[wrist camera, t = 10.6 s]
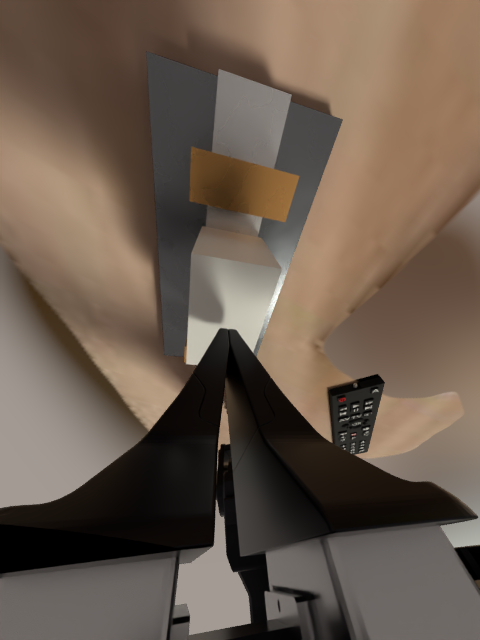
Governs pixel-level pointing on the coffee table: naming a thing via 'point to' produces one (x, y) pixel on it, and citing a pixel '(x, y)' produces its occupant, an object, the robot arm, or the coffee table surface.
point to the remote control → (355, 413)
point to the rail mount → (227, 172)
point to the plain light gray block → (228, 288)
